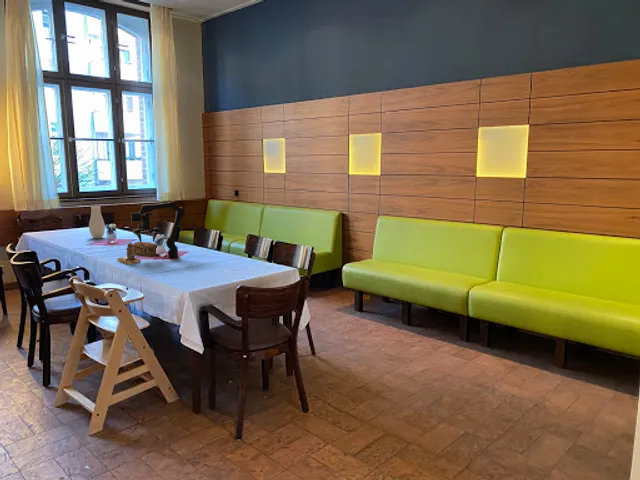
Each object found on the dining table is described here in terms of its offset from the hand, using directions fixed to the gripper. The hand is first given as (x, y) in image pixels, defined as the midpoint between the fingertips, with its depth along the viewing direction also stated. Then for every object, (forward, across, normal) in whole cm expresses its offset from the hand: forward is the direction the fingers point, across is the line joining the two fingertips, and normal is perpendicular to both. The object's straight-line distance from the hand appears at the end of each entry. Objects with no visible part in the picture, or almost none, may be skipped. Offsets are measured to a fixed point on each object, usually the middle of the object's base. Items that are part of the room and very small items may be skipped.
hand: (147, 242), depth 361 cm
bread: (+13, -4, -19) cm, 24 cm away
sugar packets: (+12, +16, 0) cm, 20 cm away
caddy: (+13, +15, +4) cm, 20 cm away
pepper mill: (+12, +14, +8) cm, 21 cm away
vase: (+13, +8, -127) cm, 128 cm away
